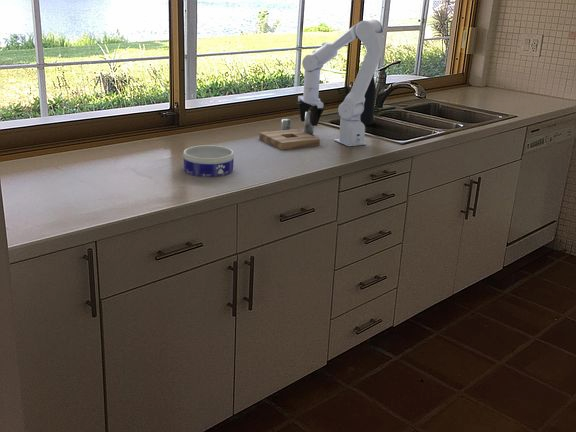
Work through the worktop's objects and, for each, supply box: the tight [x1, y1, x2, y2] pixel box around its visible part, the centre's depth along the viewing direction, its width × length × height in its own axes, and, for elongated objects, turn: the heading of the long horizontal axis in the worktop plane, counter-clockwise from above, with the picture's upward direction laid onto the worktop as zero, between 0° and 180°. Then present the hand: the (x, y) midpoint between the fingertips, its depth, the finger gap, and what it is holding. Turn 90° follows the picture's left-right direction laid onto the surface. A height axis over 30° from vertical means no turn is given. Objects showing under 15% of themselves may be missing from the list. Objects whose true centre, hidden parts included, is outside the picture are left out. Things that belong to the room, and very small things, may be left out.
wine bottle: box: [360, 51, 377, 126], centre depth 263 cm, size 6×6×30 cm
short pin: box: [280, 118, 292, 131], centre depth 246 cm, size 4×4×5 cm
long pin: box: [303, 110, 315, 136], centre depth 243 cm, size 4×4×9 cm
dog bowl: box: [182, 144, 235, 178], centre depth 196 cm, size 15×15×6 cm
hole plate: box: [258, 128, 321, 151], centre depth 232 cm, size 16×16×2 cm
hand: (309, 123), depth 243 cm, fingers open, 7 cm apart
